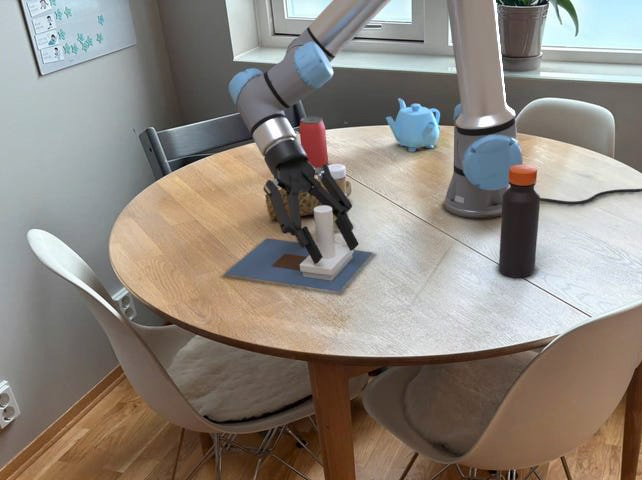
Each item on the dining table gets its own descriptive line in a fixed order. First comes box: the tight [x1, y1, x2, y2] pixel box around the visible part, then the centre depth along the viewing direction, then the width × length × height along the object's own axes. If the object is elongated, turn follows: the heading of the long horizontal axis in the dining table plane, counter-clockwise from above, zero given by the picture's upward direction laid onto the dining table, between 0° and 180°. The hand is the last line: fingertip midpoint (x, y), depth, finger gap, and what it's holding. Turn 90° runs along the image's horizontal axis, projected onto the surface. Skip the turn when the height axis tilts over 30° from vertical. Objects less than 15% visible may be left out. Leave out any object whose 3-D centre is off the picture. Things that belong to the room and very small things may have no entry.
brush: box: [300, 205, 355, 281], centre depth 137 cm, size 7×11×12 cm, turn 161°
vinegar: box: [498, 164, 541, 279], centre depth 133 cm, size 7×7×20 cm
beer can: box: [299, 115, 329, 168], centre depth 187 cm, size 7×7×12 cm
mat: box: [224, 238, 373, 293], centre depth 142 cm, size 24×17×1 cm
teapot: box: [385, 97, 441, 153], centre depth 199 cm, size 15×14×11 cm
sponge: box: [264, 178, 352, 221], centre depth 163 cm, size 13×8×20 cm
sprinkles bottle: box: [326, 163, 349, 231], centre depth 153 cm, size 5×5×13 cm
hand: (336, 253), depth 136 cm, fingers open, 8 cm apart
